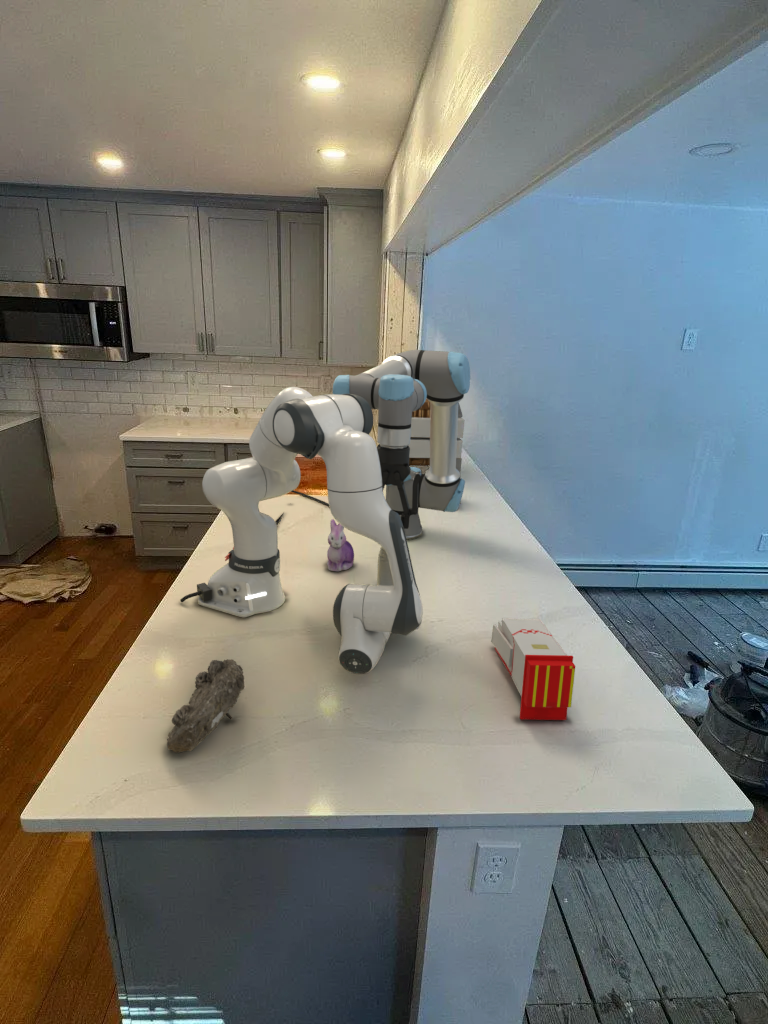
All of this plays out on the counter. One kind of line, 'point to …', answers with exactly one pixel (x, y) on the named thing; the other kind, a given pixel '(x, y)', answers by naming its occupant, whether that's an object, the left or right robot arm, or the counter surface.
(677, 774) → the counter surface
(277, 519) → the feather
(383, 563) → the bottle
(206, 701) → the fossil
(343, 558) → the figurine
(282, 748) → the counter surface
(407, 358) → the right robot arm
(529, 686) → the toy
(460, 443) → the white wooden crate
